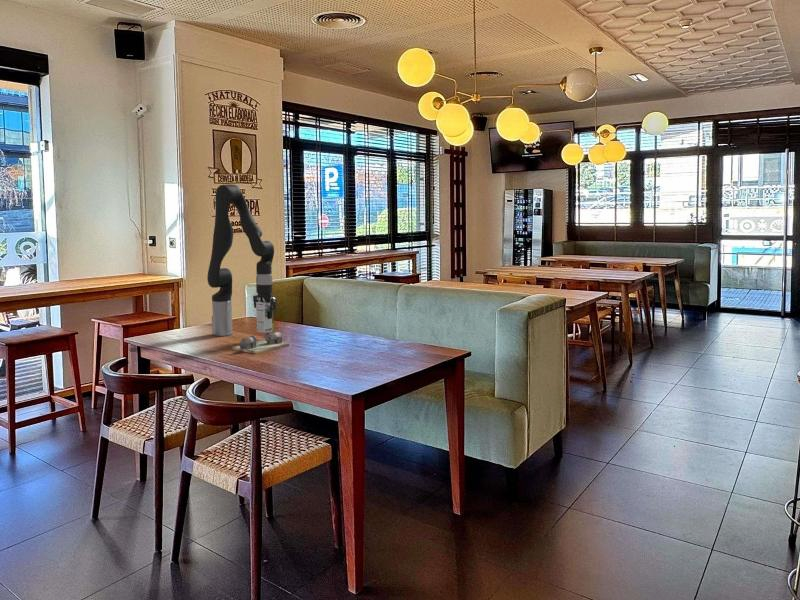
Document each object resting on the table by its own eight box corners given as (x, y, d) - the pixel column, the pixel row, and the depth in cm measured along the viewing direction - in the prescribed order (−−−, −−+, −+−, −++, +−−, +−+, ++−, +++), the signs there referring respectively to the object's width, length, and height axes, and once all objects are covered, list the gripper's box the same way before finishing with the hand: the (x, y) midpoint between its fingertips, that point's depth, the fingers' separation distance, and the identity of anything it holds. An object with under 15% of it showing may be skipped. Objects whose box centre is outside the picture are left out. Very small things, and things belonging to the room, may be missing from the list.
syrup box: (264, 333, 297) (264, 302, 295) (256, 331, 300) (255, 301, 298) (273, 331, 301) (273, 301, 299) (265, 329, 305) (265, 300, 303)
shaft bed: (231, 349, 281) (231, 335, 280) (266, 341, 297) (266, 328, 296) (255, 354, 271) (255, 340, 271) (290, 345, 288) (290, 332, 287)
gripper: (247, 282, 298) (248, 317, 301) (268, 285, 290) (269, 320, 293) (259, 281, 304) (260, 315, 307) (280, 283, 296) (281, 318, 299)
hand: (265, 317), depth 300 cm, fingers closed on syrup box, 6 cm apart
